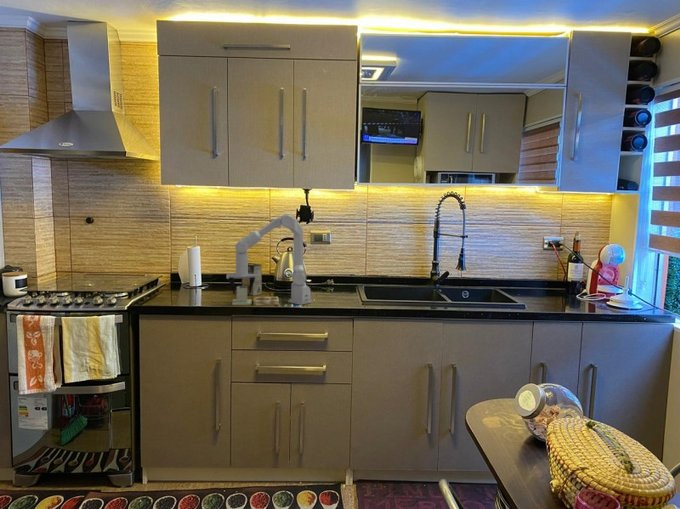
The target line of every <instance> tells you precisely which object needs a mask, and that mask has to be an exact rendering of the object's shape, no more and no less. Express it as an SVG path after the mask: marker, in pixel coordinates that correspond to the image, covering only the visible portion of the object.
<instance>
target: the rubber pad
mask: <svg viewBox="0 0 680 509" xmlns="http://www.w3.org/2000/svg"><path fill="white" fill-rule="evenodd" d="M231 305H232V306H251V305H252V299H251V298H250V299H249V298H247V302H239V303H237V299H232V303H231Z"/></svg>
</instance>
